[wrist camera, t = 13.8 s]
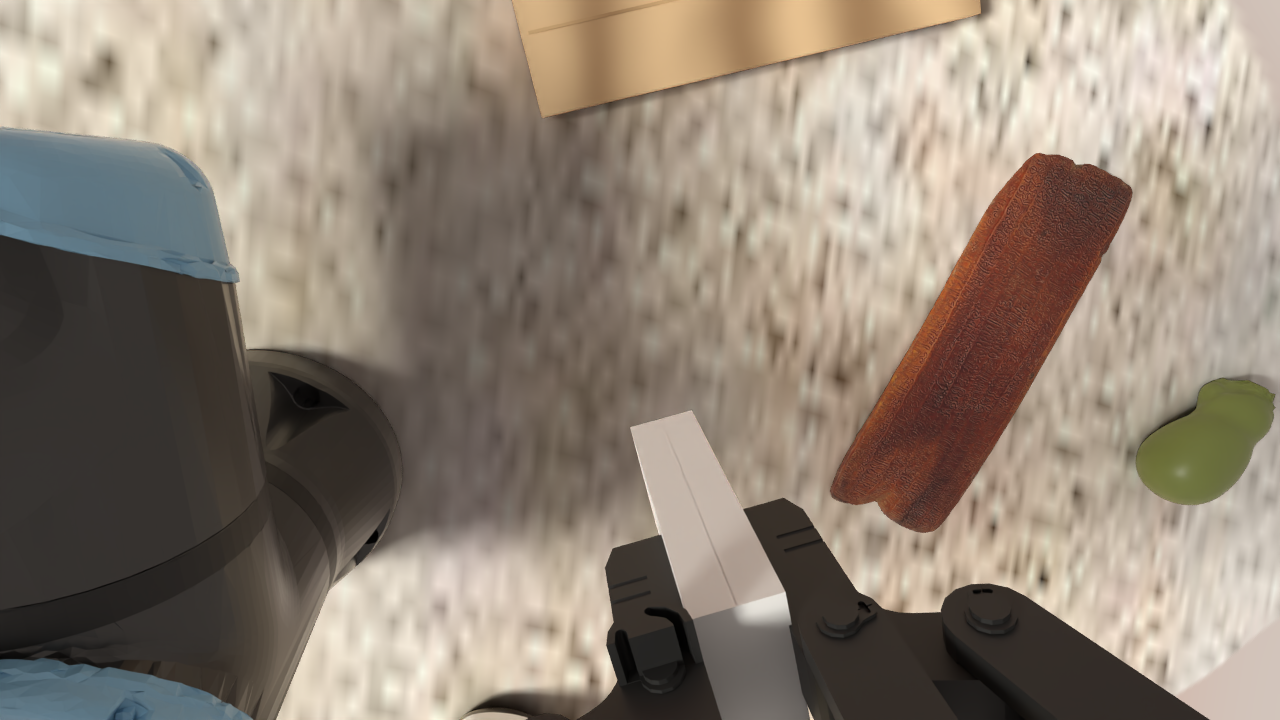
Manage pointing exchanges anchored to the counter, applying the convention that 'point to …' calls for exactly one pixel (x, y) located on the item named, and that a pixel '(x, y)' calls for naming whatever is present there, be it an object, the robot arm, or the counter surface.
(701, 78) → the plank
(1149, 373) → the counter surface
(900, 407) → the wooden tablet
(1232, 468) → the pear
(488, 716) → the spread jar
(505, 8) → the counter surface
